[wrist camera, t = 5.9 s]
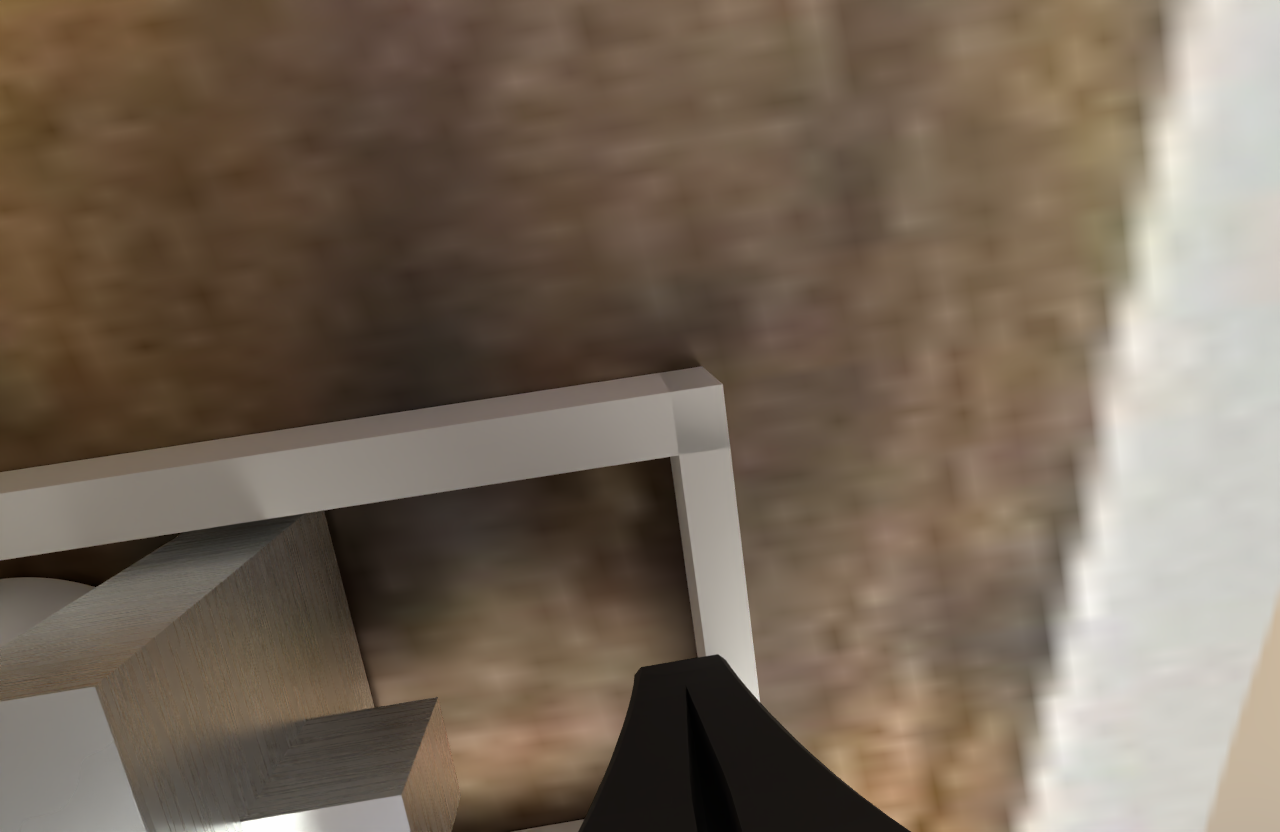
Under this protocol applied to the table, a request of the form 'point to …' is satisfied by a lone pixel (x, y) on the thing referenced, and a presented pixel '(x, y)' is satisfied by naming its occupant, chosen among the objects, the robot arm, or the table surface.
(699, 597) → the grey open tray
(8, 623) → the can
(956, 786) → the table surface
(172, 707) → the sliding jaw
